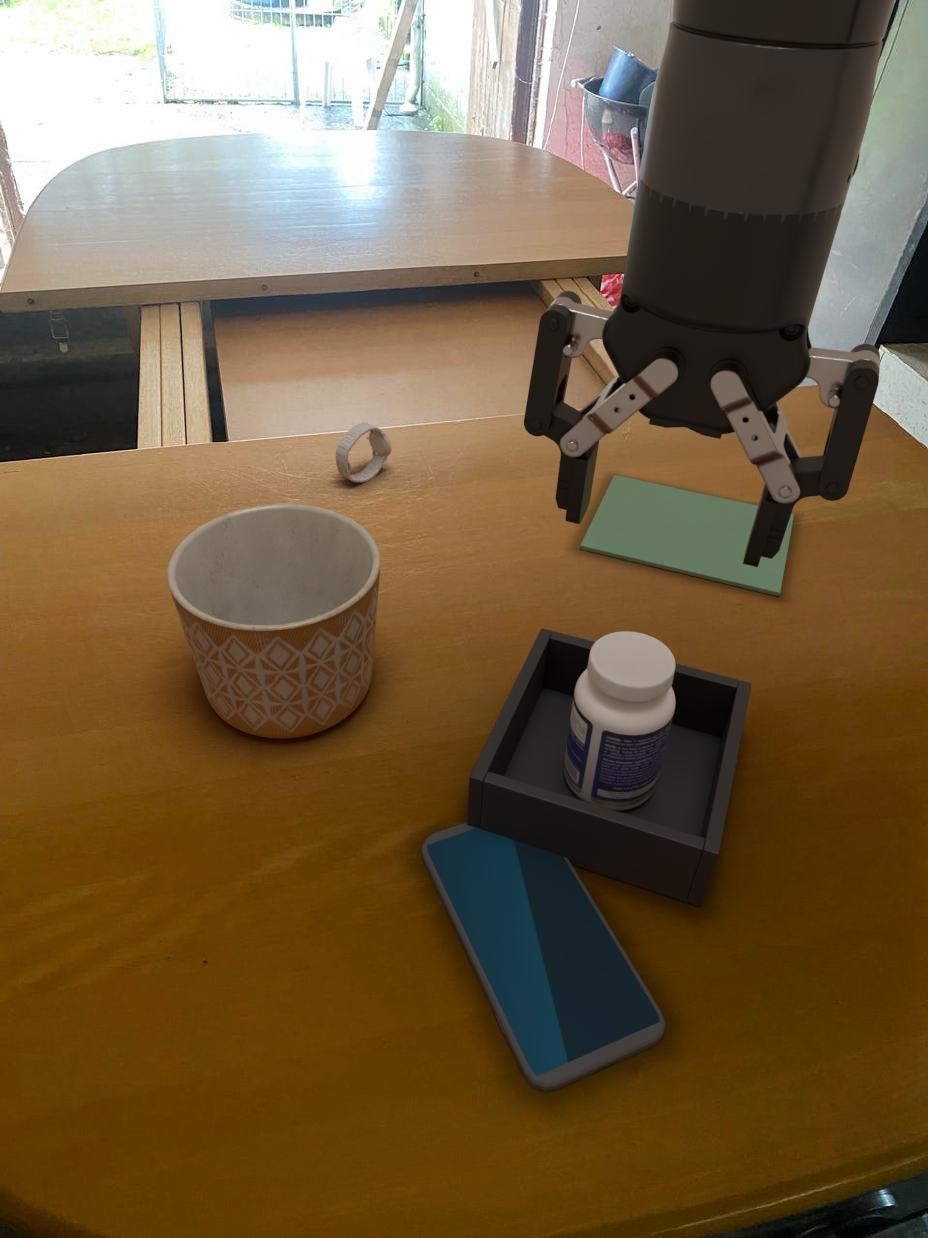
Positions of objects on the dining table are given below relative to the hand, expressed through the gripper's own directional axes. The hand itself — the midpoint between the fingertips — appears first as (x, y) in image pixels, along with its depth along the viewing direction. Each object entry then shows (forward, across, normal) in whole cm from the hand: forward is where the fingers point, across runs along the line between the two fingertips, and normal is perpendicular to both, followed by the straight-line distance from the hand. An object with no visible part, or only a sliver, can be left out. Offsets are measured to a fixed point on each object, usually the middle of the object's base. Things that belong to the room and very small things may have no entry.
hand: (663, 535), depth 44 cm
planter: (+19, -22, 0) cm, 29 cm away
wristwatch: (+19, -29, +26) cm, 44 cm away
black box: (+19, 0, 0) cm, 19 cm away
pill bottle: (+18, 0, 0) cm, 19 cm away
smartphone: (+19, -1, -11) cm, 22 cm away
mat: (+19, 0, +29) cm, 35 cm away
